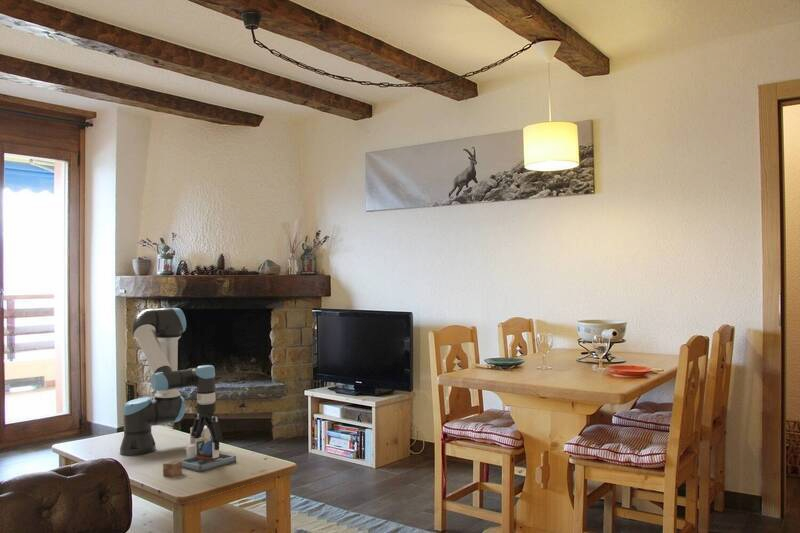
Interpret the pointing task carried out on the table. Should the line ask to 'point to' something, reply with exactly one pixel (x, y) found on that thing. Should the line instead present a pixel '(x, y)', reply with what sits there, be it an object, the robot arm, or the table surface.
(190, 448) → the white egg
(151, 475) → the table surface
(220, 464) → the tray
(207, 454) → the model
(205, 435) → the ink box
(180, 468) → the walnut cube
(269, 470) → the table surface
